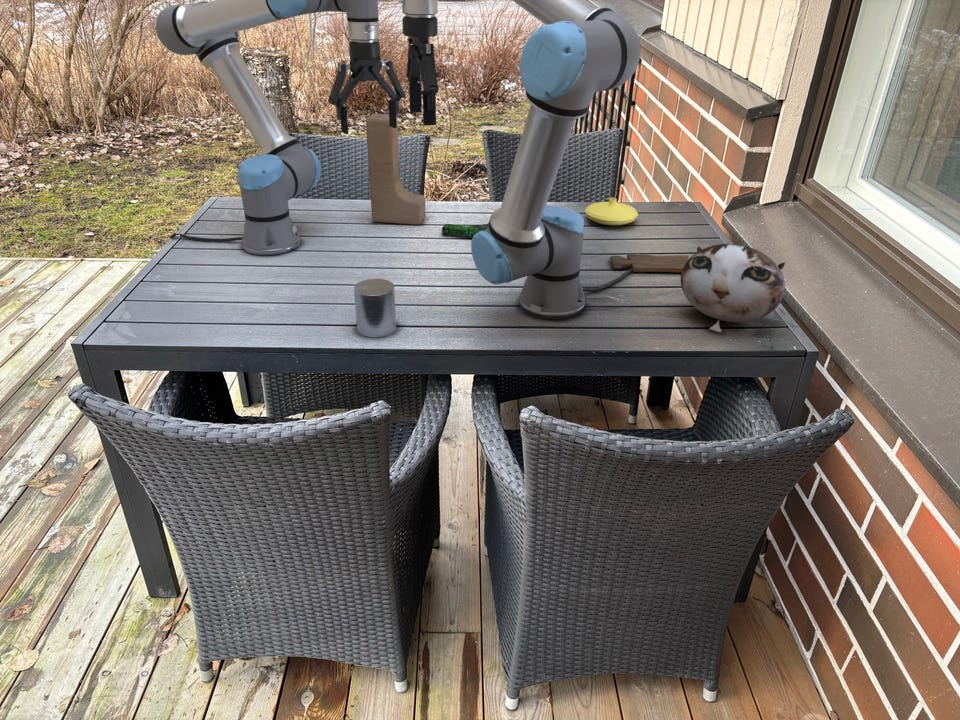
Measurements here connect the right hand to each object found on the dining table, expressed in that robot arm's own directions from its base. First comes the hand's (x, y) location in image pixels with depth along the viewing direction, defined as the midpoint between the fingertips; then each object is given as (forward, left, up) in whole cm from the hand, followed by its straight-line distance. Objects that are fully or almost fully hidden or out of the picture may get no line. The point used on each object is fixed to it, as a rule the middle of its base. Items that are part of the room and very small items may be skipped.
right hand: (422, 118), depth 163 cm
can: (+18, +26, -38) cm, 49 cm away
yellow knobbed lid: (-63, -22, -38) cm, 77 cm away
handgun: (-21, -24, -38) cm, 50 cm away
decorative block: (-1, -40, -38) cm, 55 cm away
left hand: (+8, -24, -7) cm, 26 cm away
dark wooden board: (-60, +13, -38) cm, 72 cm away
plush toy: (-59, +43, -38) cm, 83 cm away
